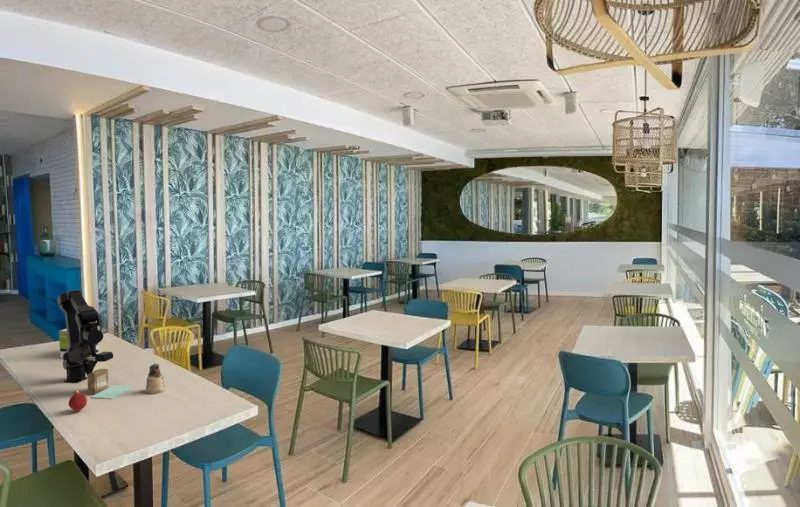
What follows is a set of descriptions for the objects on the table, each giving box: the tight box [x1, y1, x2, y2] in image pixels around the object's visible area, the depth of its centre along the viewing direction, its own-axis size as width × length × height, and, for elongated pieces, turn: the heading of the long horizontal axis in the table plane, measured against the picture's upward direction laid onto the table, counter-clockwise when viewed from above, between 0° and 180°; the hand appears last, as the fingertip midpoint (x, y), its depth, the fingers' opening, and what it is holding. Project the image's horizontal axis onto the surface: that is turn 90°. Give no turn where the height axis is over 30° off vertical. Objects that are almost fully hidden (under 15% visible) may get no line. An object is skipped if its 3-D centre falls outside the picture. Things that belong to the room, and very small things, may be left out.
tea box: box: [58, 328, 99, 359], centre depth 256 cm, size 15×10×15 cm, turn 172°
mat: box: [90, 384, 134, 400], centre depth 205 cm, size 9×14×1 cm, turn 175°
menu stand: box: [86, 368, 109, 396], centre depth 205 cm, size 3×8×9 cm, turn 175°
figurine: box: [145, 363, 166, 395], centre depth 207 cm, size 7×7×12 cm
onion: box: [68, 390, 88, 412], centre depth 185 cm, size 6×6×8 cm
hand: (88, 375), depth 206 cm, fingers closed
